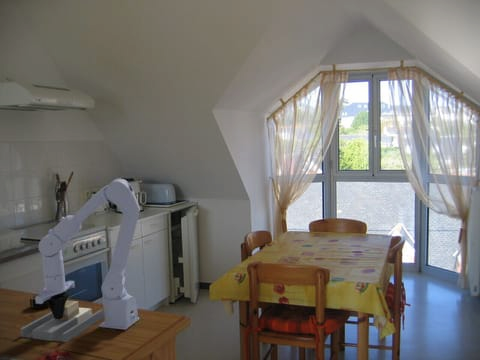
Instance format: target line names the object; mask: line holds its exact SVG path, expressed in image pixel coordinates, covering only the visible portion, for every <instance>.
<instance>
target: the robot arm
mask: <svg viewBox="0 0 480 360" xmlns="http://www.w3.org/2000/svg"><path fill="white" fill-rule="evenodd" d="M109 203H113V204H114V205H116V206H117V208H118V209H119V211H121V213H122V219H121V222H120V225H119V230H118V234H117V239H116V243H115V246H114V251H113V254H112V258H111V262H110V266H109V269H108V272H107V273H106V275H105V277H104V281H103V282H102V284H101V293H102V301H103V302H102V303H103V311H104V321H103V322H101V323H100V324H99V325H98V327H99V328H106V329H107V328H109V329H118V330H127V329H129V328H130V327H131V326H132V325H133V324H135V323H136V322H138V321H140V317H139V315H138V304H137V299H136V297H135V296H133V295H130V294H129V293H128V290H126V288H125V284H126V281H127V277H126V269H127V263H128V259H129V256H130V252H131V247H132V243H133V239H134V235H135V232H136V227H137V223H138V221H139V220H138V219H139V215H140V211H141V207H140V204H139V201H138V199H137V197H136V194H135V190H134V187H133V186H132V185H131V184H130V183H129V182H128V181H127V180H126V179H124V178H116V179H113V180H112V181H111V182H110V183H109V184H107V185H105V186H104V187H103V188H101V189H99V190H98V191H97V192H95V194H94V195H92V196H91V197H90V198H89V200H87V202H85V204H84V205H82V207H81V208H79V210H78V211H76V213H74V214H70V215H69V214H68V215H66V216H62V217H61V218H60V219H59V223H57V224H56V225H55V226H54V227H53V228H52V229H51V228H50V229H49V230H48V231H47V233H48V234H46V235H45V236H44V237H42V238H41V239H40V241H39V243H38V251H39V252H40V254H41V257H42V259H41V260H42V271H43V272H42V273H43V280H44V288H42V292H41V293H39V295H38V294H37V295H38V296H36V297H35V300H36V303H37V304H42V303H44V301H45V302H46V303H47V304H48V306H47V307H49V309H50V311H51V312H52V313H53V316H54V318H55V319H61V318H63V312H64V307H65V303H66V301H68V298H69V295H70V294H69V293H68V292H66V291H68V290H70V289H74V288H76V286H75V280H68V281H66V275H65V266H64V258H63V251H62V249H63V247H64V245H66V244H68V242H69V241H70V240H72V239H73V238H74V237H75V236H76V235H77V234H78V233H79V231H81V230H82V229H83V228H82V223H83V222H84V221H85V220H86V219H87V218H88V217H89V216H90V215H92V214H93V213H94V211H96V210H97V209H98V208H99V207H100V206H103V205H108V204H109Z"/></svg>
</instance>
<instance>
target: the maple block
mask: <svg viewBox="0 0 480 360" xmlns="http://www.w3.org/2000/svg"><path fill="white" fill-rule="evenodd" d="M79 308H80V305H79V301H75V300H67V301H66V303H65V307H64V312H63V318H61V320H70V319H72V318H73V317H75V316H77V315H78V314H79Z"/></svg>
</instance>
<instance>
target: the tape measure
mask: <svg viewBox="0 0 480 360" xmlns="http://www.w3.org/2000/svg"><path fill="white" fill-rule="evenodd" d="M39 294H40V293H39ZM39 294H35V295H32V296H31V297H30V299H29V305H30V307H31V308H32V309H44V308H47V307H49V306H48V304H47V303H46V302H45V301H44V303H42V304H37V303H36V300H35V297H36V296H38V295H39Z"/></svg>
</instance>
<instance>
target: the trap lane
mask: <svg viewBox="0 0 480 360" xmlns="http://www.w3.org/2000/svg"><path fill="white" fill-rule="evenodd" d="M102 319H105V316H104V309H99V310H98V311H96V312H95V313H93V309H92V308H90V307H89V308H87V307H79V314H78V315H77V316H75V317H73V318H72V319H70V320H61V319H55V318H54V316H53V313H52V311H51V312H48V313H46V314H45V315H42V317H39V318H37V319H35V320H34V321H32V322H29V323H28V324H26V325H25V326H23V327H21V328H19V332H20V338H24V339H25V338H26V339H34V340H41V341H42V340H43V341H49V342H50V341H51V342H58V343H67V342H69V341H71V340H72V339H73V338H75V337H76V336H78V335H80V334H81V333H83V332H84V331H86V330H88V329H89V328H90V327H92V326H93V325H95V324H96V323H98V322H99V321H101V320H102Z"/></svg>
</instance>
